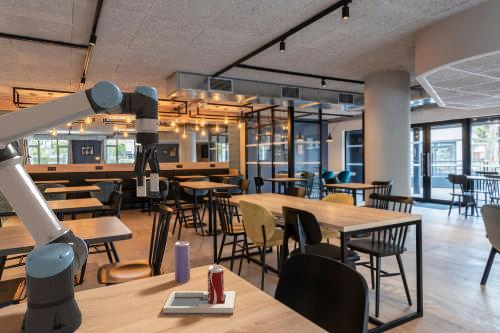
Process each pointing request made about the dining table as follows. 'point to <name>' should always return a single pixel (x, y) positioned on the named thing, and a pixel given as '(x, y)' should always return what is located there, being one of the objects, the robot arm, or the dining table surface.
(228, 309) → the keyhole board
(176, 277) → the beverage can
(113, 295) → the dining table surface
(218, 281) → the soda can
